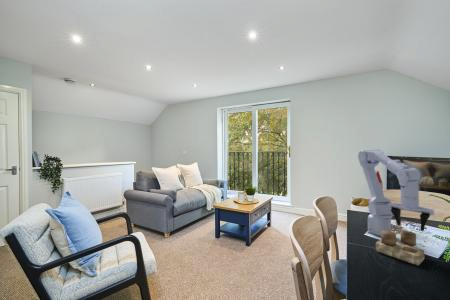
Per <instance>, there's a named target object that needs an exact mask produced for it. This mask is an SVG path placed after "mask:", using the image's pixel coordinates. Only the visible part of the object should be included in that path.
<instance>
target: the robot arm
mask: <svg viewBox="0 0 450 300" xmlns="http://www.w3.org/2000/svg"><path fill="white" fill-rule="evenodd" d="M357 159H358V161H359V164H360V167H362V170H363V173H364V177H365V180H366V182H367V185H368V189H369V193H370V196H371V198H370V200H369V201H368V202H367V204H368V211H369V213H370V214H369V215H368V216H367V231H366V232H367V233H369V234H372V235H376V236H379V237H381V231H391V232H392V218H393V217H394V218H395V222H396V226H397V227H400V226H401V224H402V221H401V214H402V213H401V212H402V210H403V211H408V212H414V213H419V214H420V215H419V217H420V218H419V219H420V232H424V231H425V227H426V223H427V222H428V220H429V218H430V216H434V215H435V209H433V208H432V209H431V208H427V207H422V206H420V199H419V197H420V196H419V194H420V193H419V191H420V189H419V182H420V181H422V180H423V173H422V171H421V170H420V169H419V168H418V167H410V166H409V165H407V164H405V163H403V162H401V160H400V159H392V158H391V157H388V156H387V155H386V154H385V153H384V150H381V149H379V148H376V149H360V150H359V152H358V154H357ZM380 163H381V164H382V165H384V166H386V169H387V170H388V171H390V173H391V174H394V175H396V178H397V180H398V184H399V186H400V203H396V202H395V203H393V202H392V201H391V199H389V198H387V196H385V195H384V191H383V192H382V189H381V186H380V183H379V180H378V177H377V174H376V173H377V171H376V170H375V169H376V168H375V167H377V166H378V165H379V164H380ZM376 203H382V204H376Z"/></svg>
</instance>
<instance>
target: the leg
mask: <svg viewBox="0 0 450 300" xmlns="http://www.w3.org/2000/svg"><path fill="white" fill-rule="evenodd" d="M399 236H400V243H401V244H405V245H408V246H411V247H415V246H417V234H416V233H415V232H413V231H410V230H400V235H399Z"/></svg>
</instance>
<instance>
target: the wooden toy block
mask: <svg viewBox="0 0 450 300" xmlns="http://www.w3.org/2000/svg"><path fill="white" fill-rule="evenodd" d="M380 237H381V239H379V240H378V241H376V242H375V252H378V253H381V254H384V255H387V256H389V257H393V258H395V259H398V260H402V261H404V262H408V263H409V264H412V265H416V266H420V265H421V264H422V262H423V261H424V260H425V249H422V248H418V247H415V246H413V247H411V246H408V245H405V244H403V243H401V242H398V241H397V234H396V233H395V232H394V231H392V230H391V231H381V236H380Z"/></svg>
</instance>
